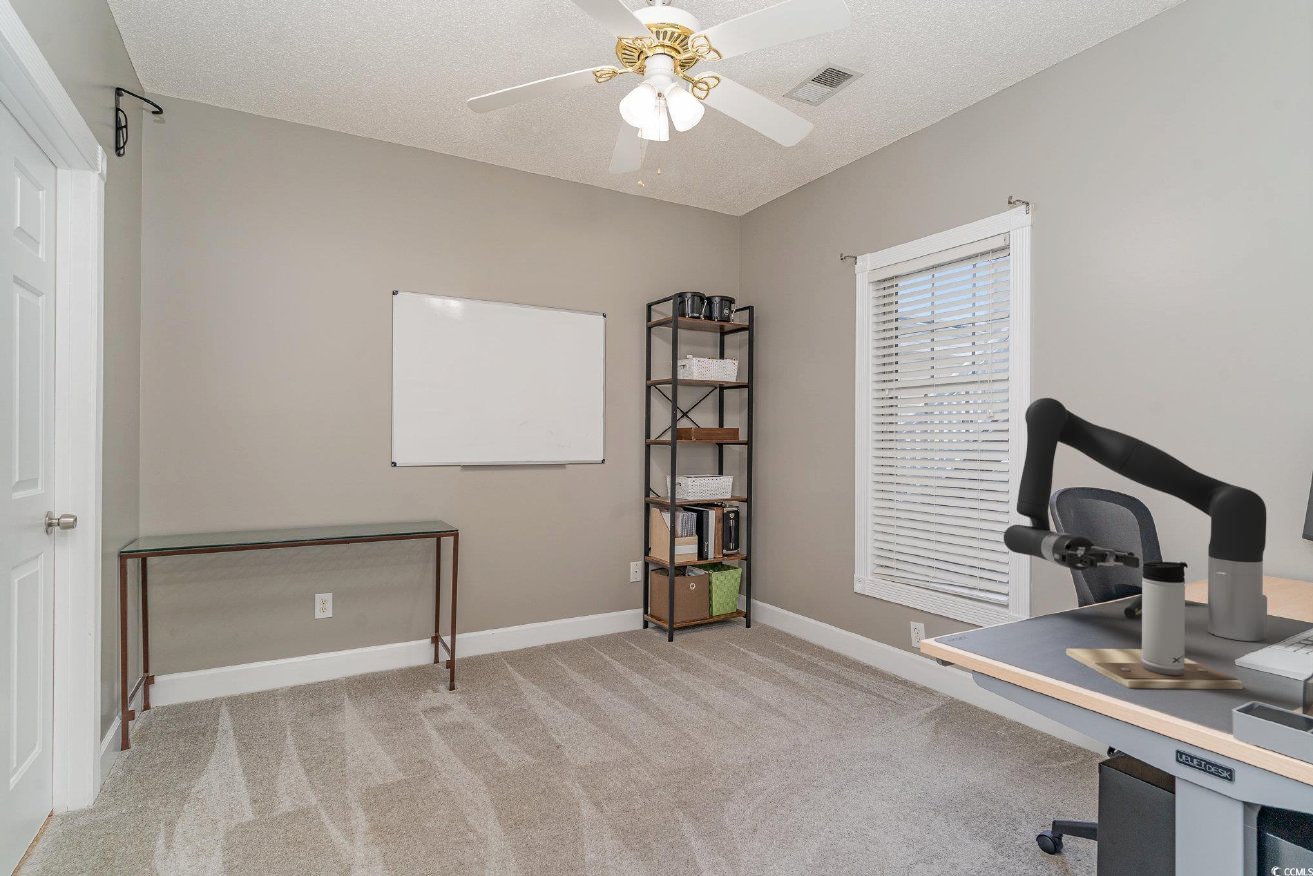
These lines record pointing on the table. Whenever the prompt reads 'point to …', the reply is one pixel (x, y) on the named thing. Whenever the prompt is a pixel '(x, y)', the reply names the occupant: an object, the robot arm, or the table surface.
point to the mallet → (1133, 608)
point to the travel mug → (1163, 617)
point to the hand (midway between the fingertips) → (1116, 563)
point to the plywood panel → (1131, 673)
